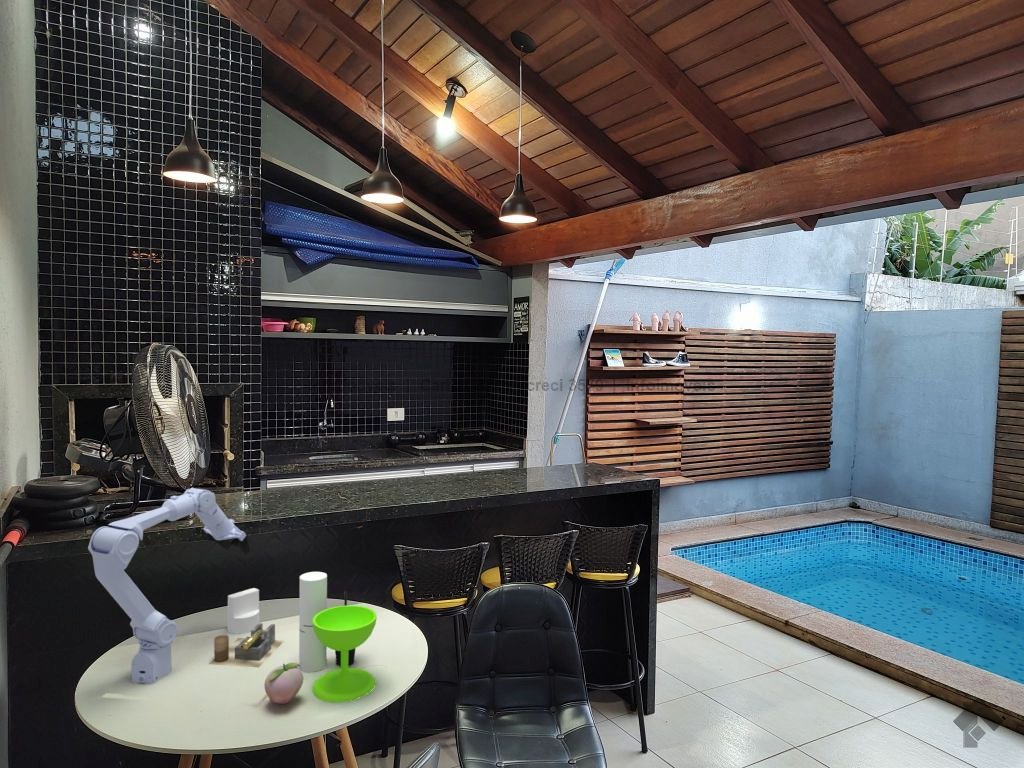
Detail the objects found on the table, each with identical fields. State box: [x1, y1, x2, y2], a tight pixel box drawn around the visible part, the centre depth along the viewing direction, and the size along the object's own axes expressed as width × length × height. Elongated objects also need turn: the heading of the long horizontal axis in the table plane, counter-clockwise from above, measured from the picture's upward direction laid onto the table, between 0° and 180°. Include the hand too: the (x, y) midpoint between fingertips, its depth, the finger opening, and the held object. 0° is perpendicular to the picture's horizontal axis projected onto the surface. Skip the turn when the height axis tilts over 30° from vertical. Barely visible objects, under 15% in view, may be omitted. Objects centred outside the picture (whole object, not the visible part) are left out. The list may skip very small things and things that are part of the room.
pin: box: [241, 630, 263, 650], centre depth 183 cm, size 9×2×2 cm, turn 175°
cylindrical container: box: [298, 571, 328, 673], centre depth 179 cm, size 7×7×25 cm
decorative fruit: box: [263, 662, 305, 705], centre depth 161 cm, size 9×8×10 cm
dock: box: [208, 622, 285, 668], centre depth 184 cm, size 16×14×6 cm
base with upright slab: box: [226, 587, 260, 635], centre depth 200 cm, size 9×9×12 cm
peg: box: [213, 634, 230, 662], centre depth 180 cm, size 4×4×6 cm
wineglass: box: [311, 604, 378, 703], centre depth 169 cm, size 16×16×18 cm
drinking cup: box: [334, 590, 356, 667], centre depth 182 cm, size 8×8×20 cm
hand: (238, 549), depth 196 cm, fingers open, 7 cm apart
